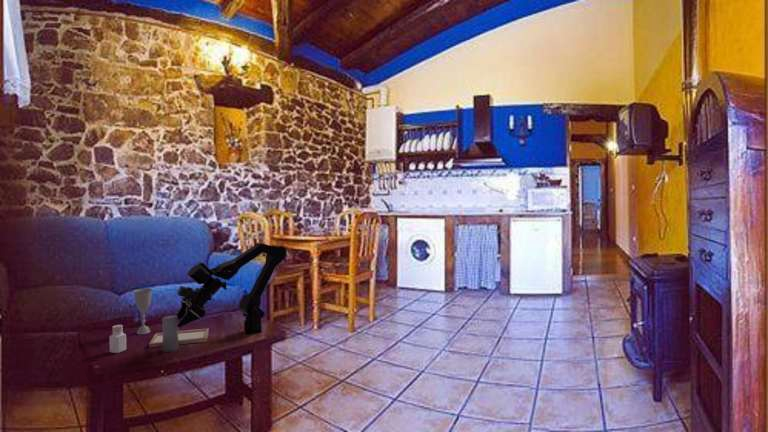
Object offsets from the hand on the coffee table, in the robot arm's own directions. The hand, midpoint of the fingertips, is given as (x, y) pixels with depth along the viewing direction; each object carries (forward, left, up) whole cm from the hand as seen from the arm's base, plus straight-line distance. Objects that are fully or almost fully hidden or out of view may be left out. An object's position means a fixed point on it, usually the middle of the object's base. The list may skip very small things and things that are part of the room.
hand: (176, 323), depth 154 cm
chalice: (+16, -26, -9) cm, 32 cm away
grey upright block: (+2, 0, -9) cm, 10 cm away
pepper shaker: (+20, -4, -9) cm, 22 cm away
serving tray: (0, -11, -9) cm, 14 cm away
